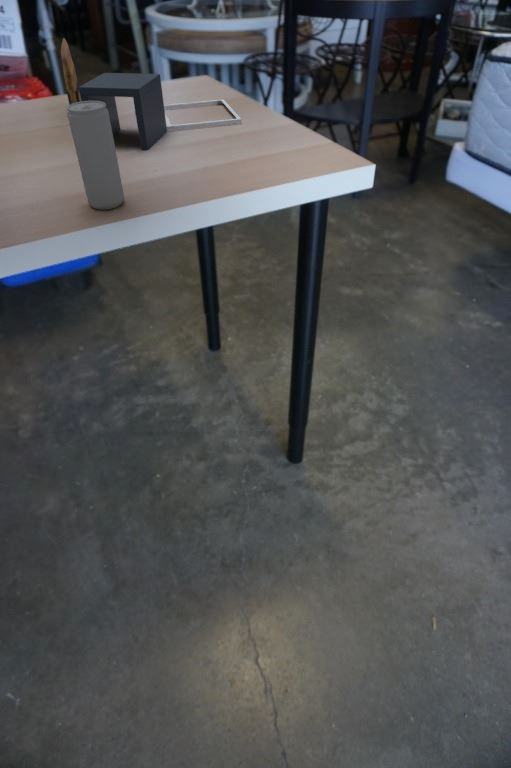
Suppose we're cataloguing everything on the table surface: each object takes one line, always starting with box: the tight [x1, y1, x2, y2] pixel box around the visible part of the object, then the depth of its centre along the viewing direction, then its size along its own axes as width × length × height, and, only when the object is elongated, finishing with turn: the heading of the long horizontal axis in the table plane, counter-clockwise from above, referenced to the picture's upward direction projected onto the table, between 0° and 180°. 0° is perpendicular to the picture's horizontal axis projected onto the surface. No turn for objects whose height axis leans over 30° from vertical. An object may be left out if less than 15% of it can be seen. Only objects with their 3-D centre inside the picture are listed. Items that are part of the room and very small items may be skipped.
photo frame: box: [133, 98, 243, 133], centre depth 100 cm, size 15×1×18 cm
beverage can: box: [66, 101, 125, 211], centre depth 67 cm, size 5×5×12 cm
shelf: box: [79, 72, 168, 151], centre depth 89 cm, size 10×10×9 cm
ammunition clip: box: [60, 37, 82, 106], centre depth 100 cm, size 11×2×12 cm, turn 13°
